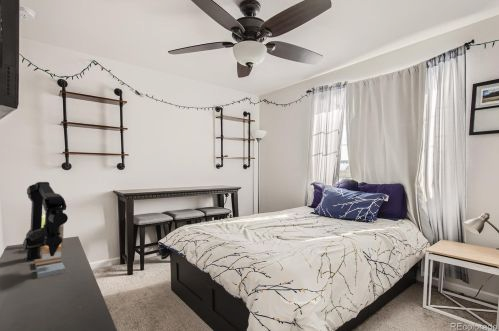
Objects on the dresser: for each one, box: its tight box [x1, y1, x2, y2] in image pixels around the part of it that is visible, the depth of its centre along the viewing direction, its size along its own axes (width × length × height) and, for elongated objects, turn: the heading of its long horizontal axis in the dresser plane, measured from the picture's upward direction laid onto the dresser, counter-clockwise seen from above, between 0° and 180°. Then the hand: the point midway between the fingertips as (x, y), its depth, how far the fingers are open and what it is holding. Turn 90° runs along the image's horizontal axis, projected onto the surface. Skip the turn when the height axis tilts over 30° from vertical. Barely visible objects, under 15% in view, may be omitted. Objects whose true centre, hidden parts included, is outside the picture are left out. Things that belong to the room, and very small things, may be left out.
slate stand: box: [35, 261, 66, 279], centre depth 120 cm, size 10×10×2 cm
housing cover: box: [41, 245, 62, 254], centre depth 120 cm, size 7×6×2 cm
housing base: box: [40, 251, 62, 260], centre depth 120 cm, size 7×6×2 cm
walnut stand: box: [34, 257, 62, 269], centre depth 129 cm, size 10×10×2 cm
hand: (51, 254), depth 120 cm, fingers closed on housing base, housing cover, 5 cm apart
